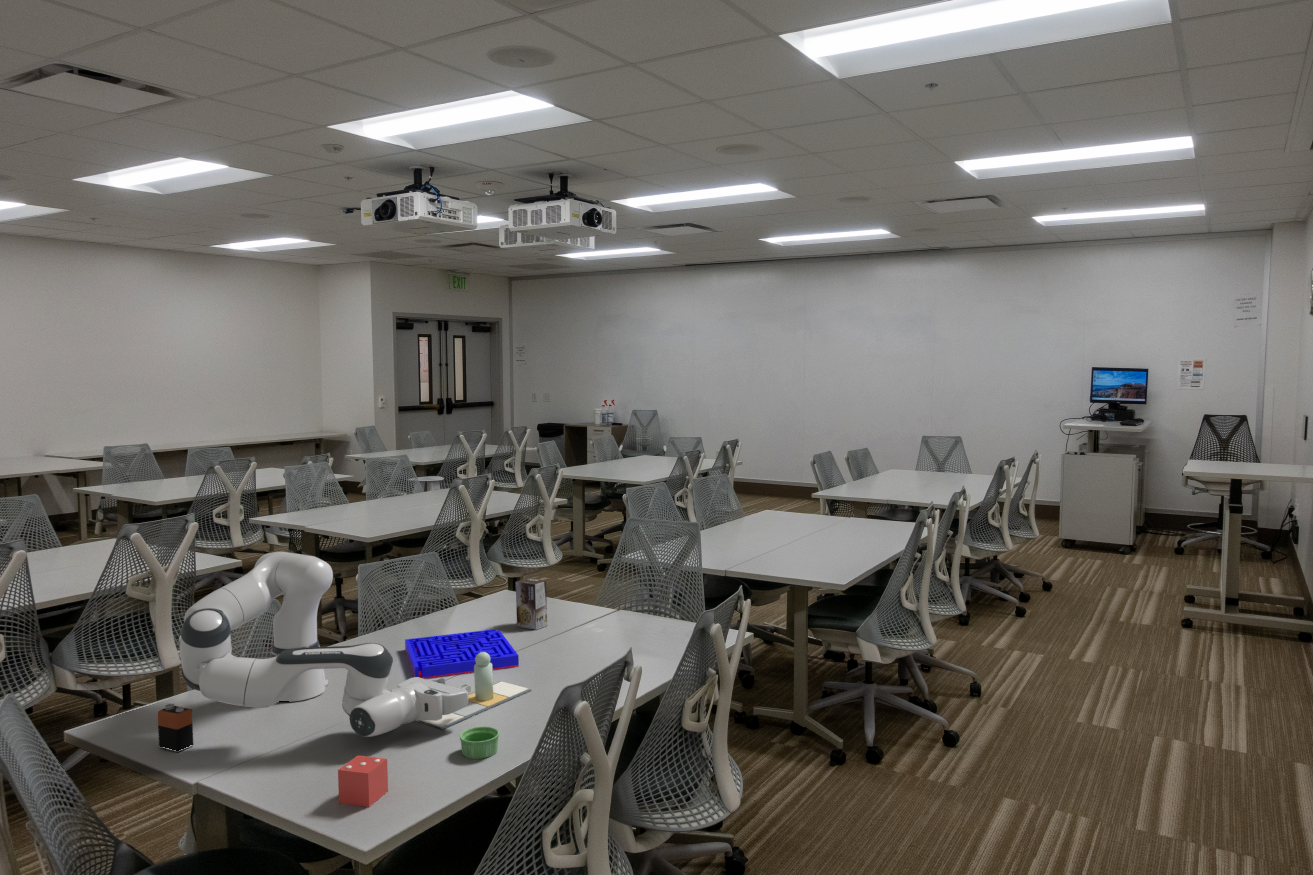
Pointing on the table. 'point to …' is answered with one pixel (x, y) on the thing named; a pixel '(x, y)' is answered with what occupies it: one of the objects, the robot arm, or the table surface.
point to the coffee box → (531, 603)
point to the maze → (458, 653)
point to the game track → (479, 704)
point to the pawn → (483, 677)
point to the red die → (363, 781)
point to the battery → (175, 727)
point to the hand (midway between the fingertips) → (455, 684)
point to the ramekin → (479, 742)
